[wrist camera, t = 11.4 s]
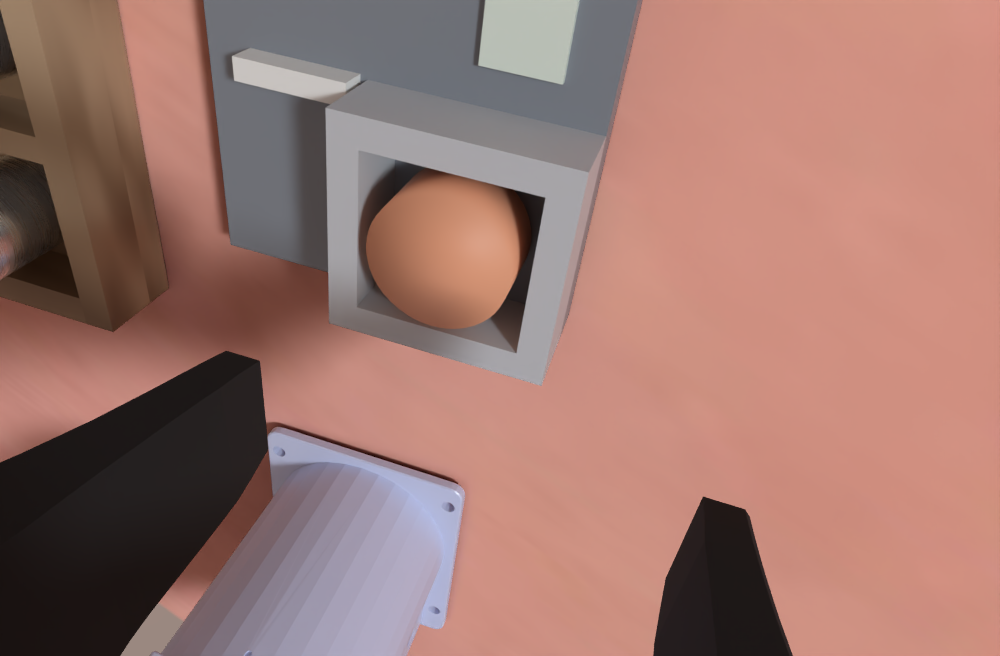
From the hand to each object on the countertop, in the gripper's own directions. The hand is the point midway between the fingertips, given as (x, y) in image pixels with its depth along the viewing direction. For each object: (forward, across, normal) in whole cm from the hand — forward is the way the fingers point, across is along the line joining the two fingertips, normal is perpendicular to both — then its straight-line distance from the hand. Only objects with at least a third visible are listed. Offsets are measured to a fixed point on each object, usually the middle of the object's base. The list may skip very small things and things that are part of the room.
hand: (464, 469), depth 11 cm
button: (+8, +3, 0) cm, 9 cm away
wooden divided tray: (+10, +17, +1) cm, 20 cm away
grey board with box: (+10, +5, -2) cm, 11 cm away
